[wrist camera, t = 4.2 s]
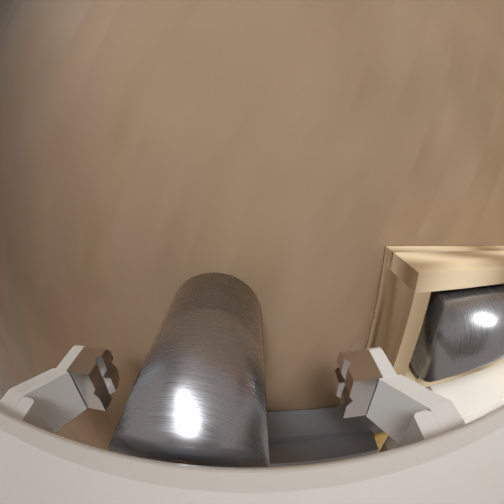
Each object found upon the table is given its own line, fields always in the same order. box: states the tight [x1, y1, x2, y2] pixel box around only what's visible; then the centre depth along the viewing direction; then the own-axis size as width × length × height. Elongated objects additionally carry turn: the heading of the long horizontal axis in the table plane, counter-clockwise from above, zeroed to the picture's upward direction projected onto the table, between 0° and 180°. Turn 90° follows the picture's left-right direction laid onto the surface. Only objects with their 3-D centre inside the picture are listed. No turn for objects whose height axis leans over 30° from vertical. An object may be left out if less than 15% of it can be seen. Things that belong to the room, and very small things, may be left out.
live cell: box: [410, 283, 504, 382], centre depth 10 cm, size 9×4×4 cm, turn 91°
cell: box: [109, 273, 270, 468], centre depth 9 cm, size 4×4×9 cm
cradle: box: [267, 406, 389, 467], centre depth 15 cm, size 10×8×4 cm
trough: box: [366, 246, 504, 387], centre depth 11 cm, size 11×6×3 cm, turn 91°
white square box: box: [385, 362, 504, 450], centre depth 13 cm, size 8×8×5 cm
